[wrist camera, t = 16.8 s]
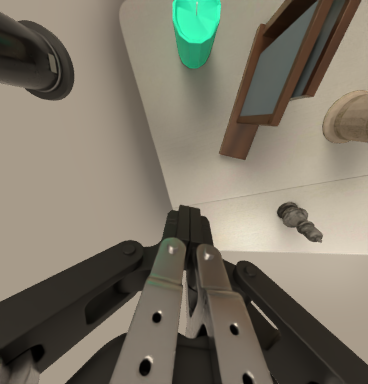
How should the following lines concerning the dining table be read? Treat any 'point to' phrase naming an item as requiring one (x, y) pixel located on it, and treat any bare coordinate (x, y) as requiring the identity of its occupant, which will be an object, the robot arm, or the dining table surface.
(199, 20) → the candle
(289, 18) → the screen frame
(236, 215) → the dining table surface
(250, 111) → the glass door
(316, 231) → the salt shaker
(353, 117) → the mug
